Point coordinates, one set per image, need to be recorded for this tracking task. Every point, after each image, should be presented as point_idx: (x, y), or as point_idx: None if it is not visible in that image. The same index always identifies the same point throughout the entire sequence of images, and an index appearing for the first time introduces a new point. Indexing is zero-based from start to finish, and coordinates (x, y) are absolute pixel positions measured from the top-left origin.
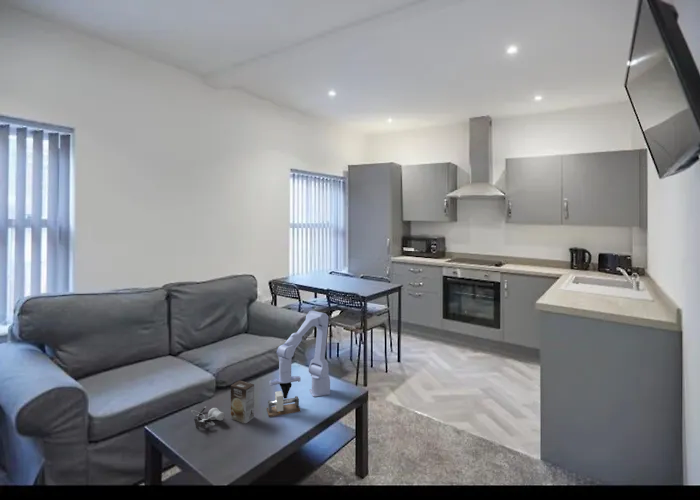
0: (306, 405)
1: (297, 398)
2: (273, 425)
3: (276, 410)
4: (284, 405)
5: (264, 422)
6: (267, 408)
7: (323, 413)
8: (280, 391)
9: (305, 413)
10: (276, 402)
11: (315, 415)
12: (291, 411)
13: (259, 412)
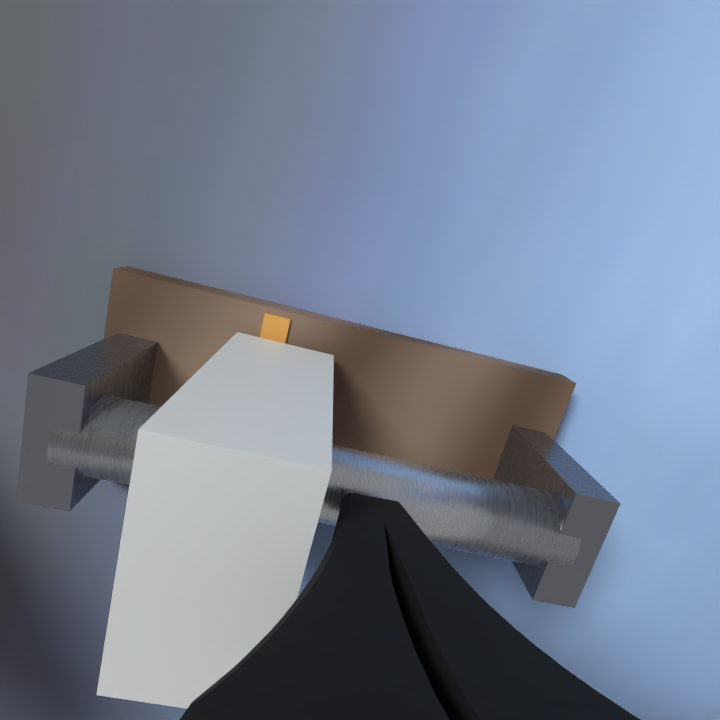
0: (645, 451)
1: (569, 577)
2: (100, 640)
3: None
4: (384, 354)
5: (17, 542)
6: (121, 296)
7: (672, 683)
8: (292, 492)
9: (522, 599)
10: None
11: (582, 678)
12: None
13: (9, 279)
